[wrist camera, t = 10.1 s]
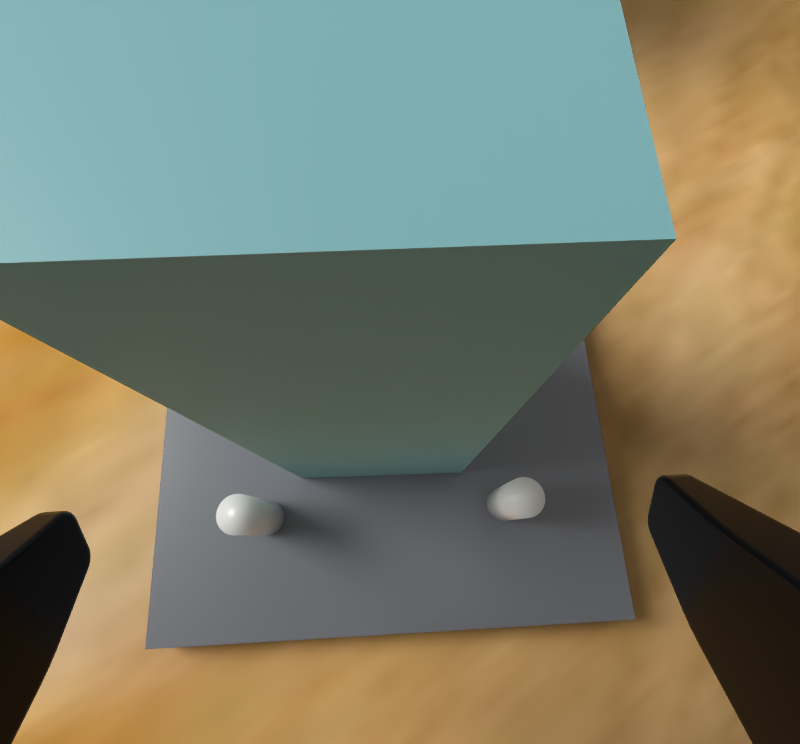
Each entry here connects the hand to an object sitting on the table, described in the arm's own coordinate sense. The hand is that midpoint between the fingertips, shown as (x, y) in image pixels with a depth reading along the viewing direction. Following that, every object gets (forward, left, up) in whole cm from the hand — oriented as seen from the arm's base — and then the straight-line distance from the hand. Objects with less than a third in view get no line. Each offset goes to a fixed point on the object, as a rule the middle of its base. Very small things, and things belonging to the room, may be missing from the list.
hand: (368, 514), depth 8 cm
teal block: (+3, +3, -8) cm, 9 cm away
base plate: (+3, +3, -9) cm, 10 cm away
